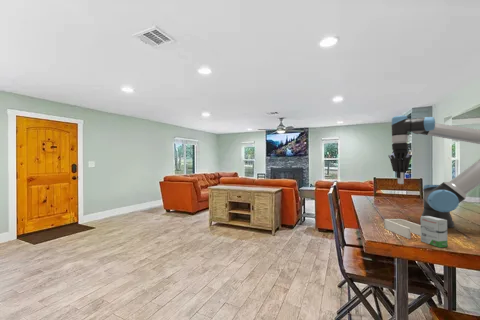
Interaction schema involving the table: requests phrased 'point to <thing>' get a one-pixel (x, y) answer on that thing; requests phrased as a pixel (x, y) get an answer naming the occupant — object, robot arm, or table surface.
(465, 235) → the table surface
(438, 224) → the ink box
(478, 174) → the robot arm
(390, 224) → the white u-shaped frame
